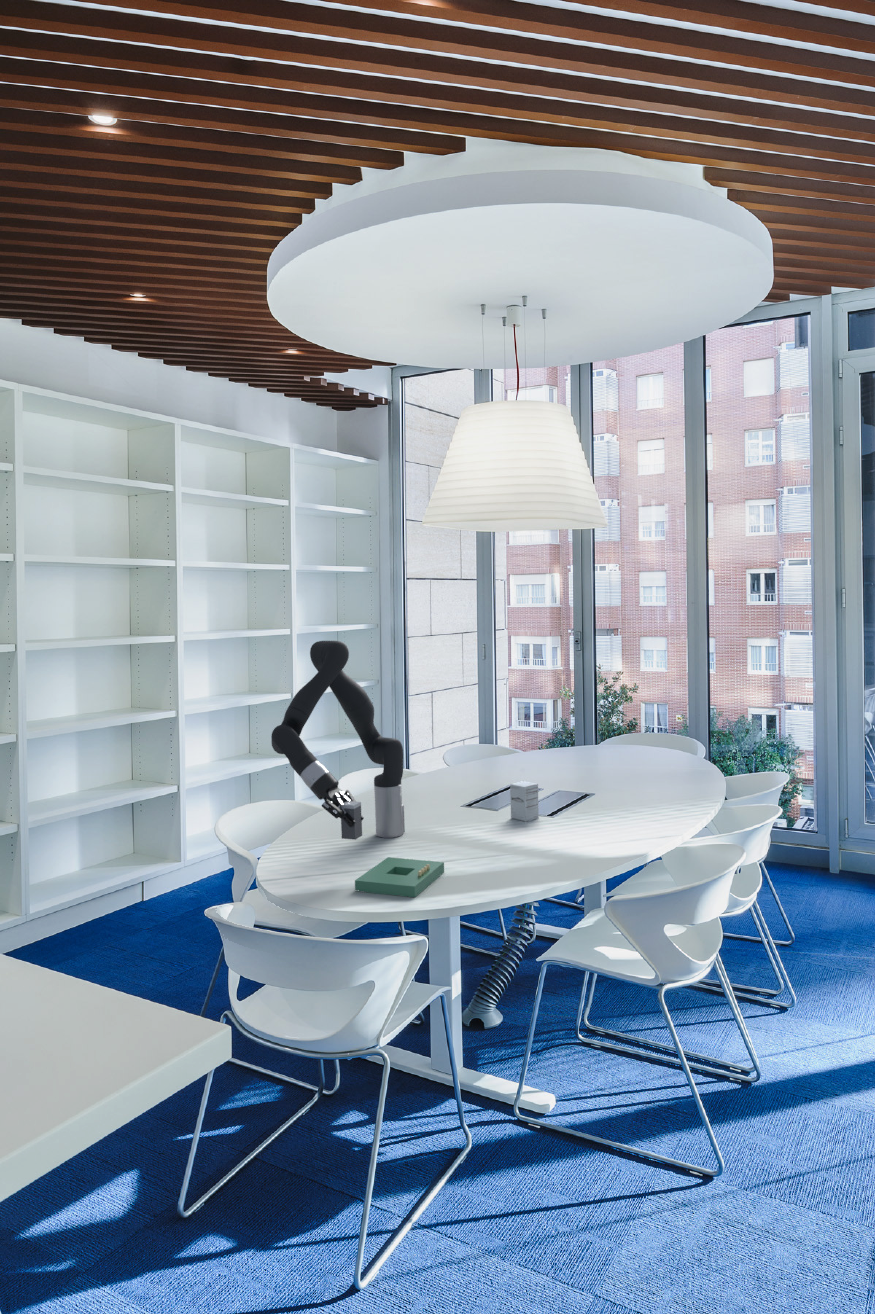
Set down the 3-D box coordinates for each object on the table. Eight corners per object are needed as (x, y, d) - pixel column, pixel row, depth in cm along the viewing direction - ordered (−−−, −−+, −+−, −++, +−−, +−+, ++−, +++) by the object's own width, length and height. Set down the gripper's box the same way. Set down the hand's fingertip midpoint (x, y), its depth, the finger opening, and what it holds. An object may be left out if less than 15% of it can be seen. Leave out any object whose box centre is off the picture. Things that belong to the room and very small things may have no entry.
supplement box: (510, 818, 315) (509, 783, 314) (524, 814, 320) (523, 780, 319) (525, 822, 309) (524, 786, 308) (539, 817, 314) (538, 783, 313)
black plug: (348, 834, 258) (347, 800, 257) (362, 835, 256) (360, 801, 256) (341, 838, 254) (340, 804, 253) (355, 839, 252) (353, 805, 252)
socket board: (388, 866, 263) (387, 852, 263) (444, 872, 257) (443, 857, 256) (355, 890, 243) (354, 875, 243) (414, 897, 236) (414, 880, 236)
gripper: (314, 776, 250) (354, 821, 246) (338, 766, 263) (376, 808, 260) (299, 793, 252) (338, 838, 249) (323, 782, 266) (361, 824, 262)
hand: (357, 822), depth 254 cm, fingers closed on black plug, 4 cm apart
